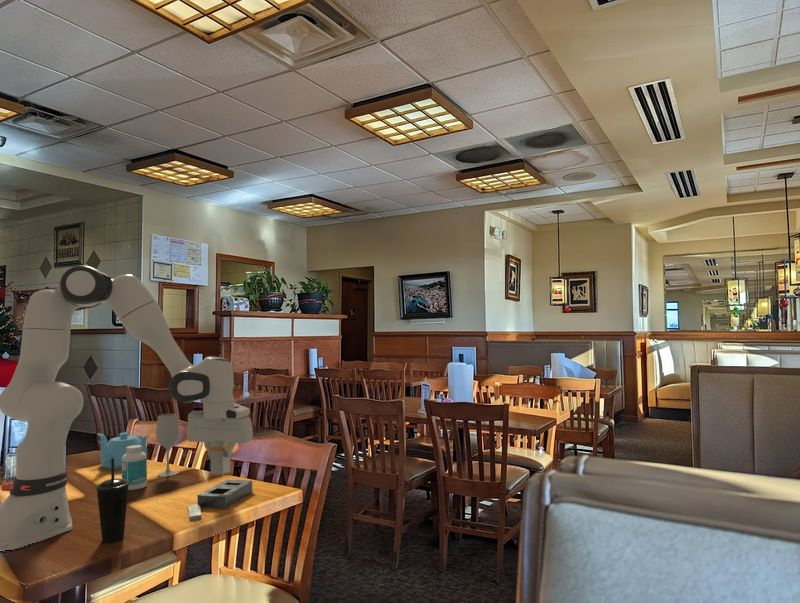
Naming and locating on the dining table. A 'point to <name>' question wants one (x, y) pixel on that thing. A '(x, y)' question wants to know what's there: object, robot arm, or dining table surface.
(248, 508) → the dining table surface
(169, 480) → the dining table surface
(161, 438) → the wineglass
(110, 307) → the robot arm
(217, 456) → the small grey carton
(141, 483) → the pill bottle
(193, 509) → the light grey bar
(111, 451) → the teapot
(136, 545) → the dining table surface
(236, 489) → the socket block
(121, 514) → the drinking cup
